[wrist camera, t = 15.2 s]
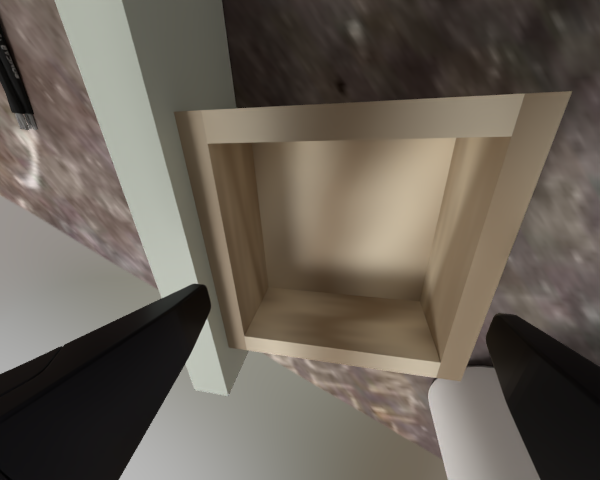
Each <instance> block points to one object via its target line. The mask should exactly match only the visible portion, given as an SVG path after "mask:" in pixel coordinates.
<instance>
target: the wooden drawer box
mask: <svg viewBox="0 0 600 480" xmlns="http://www.w3.org/2000/svg"><path fill="white" fill-rule="evenodd" d="M571 93H572V91H564V92H545V93H526V94H506V95H487V96H468V97H448V98H429V99H410V100H390V101H371V102H352V103H332V104H313V105H294V106H274V107H255V108H236V109H216V110H197V111H178V112H174V116H175V120H176V124H177V128H178V133H179V137H180V141H181V145H182V150H183V154H184V158H185V163H186V167H187V171H188V175H189V180H190V184H191V188H192V192H193V197H194V201H195V205H196V209H197V214H198V218H199V222H200V226H201V231H202V235H203V239H204V243H205V248H206V252H207V256H208V261H209V265H210V269H211V273H212V278H213V282H214V286H215V290H216V295H217V299H218V303H219V307H220V312H221V316H222V320H223V324H224V329H225V333H226V337H227V341H228V346H229V348H235V349H241V350H248V351H255V352H262V353H269V354H276V355H283V356H289V357H296V358H303V359H310V360H317V361H324V362H330V363H337V364H344V365H351V366H358V367H365V368H372V369H378V370H385V371H392V372H399V373H406V374H413V375H419V376H426V377H433V378H440V379H447V380H454V381H461V380H462V377H463V374H464V372H465V369H466V367H467V364H468V361H469V359H470V356H471V354H472V351H473V348H474V346H475V343H476V341H477V338H478V335H479V333H480V330H481V328H482V325H483V322H484V320H485V317H486V314H487V312H488V309H489V307H490V304H491V301H492V299H493V296H494V294H495V291H496V288H497V286H498V283H499V281H500V278H501V275H502V273H503V270H504V268H505V265H506V262H507V260H508V257H509V255H510V252H511V249H512V247H513V244H514V242H515V239H516V236H517V234H518V231H519V229H520V226H521V223H522V221H523V218H524V216H525V213H526V210H527V208H528V205H529V202H530V200H531V197H532V195H533V192H534V189H535V187H536V184H537V182H538V179H539V176H540V174H541V171H542V169H543V166H544V163H545V161H546V158H547V156H548V153H549V150H550V148H551V145H552V143H553V140H554V137H555V135H556V132H557V130H558V127H559V124H560V122H561V119H562V117H563V114H564V111H565V109H566V106H567V103H568V101H569V98H570V96H571Z"/></svg>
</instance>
